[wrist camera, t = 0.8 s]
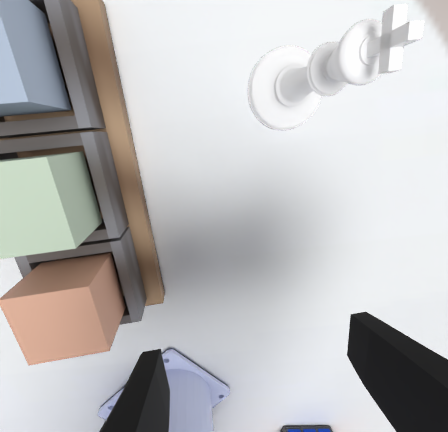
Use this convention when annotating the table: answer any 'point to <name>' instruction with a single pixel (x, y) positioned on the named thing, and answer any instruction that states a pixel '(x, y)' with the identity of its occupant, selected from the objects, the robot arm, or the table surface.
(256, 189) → the table surface
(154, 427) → the robot arm
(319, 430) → the puzzle
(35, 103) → the block
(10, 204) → the pale green cube
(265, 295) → the table surface
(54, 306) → the peach matte cube
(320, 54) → the chess piece
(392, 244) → the table surface
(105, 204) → the board
